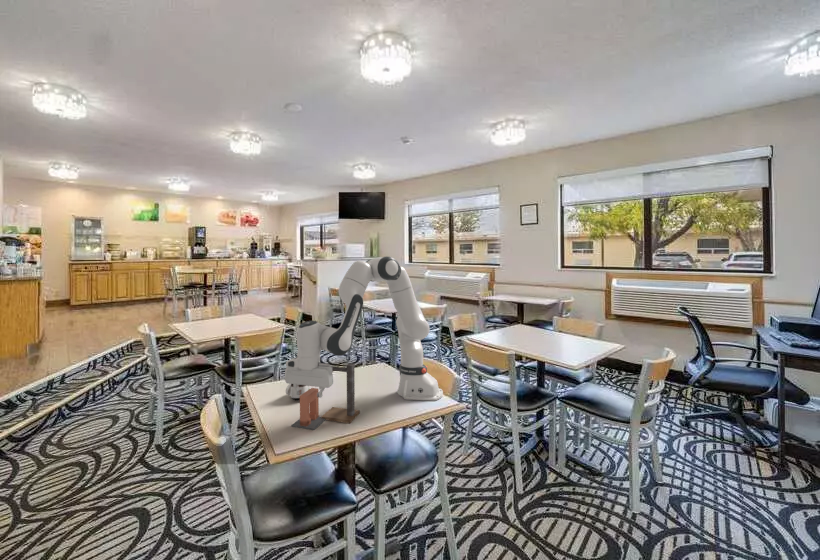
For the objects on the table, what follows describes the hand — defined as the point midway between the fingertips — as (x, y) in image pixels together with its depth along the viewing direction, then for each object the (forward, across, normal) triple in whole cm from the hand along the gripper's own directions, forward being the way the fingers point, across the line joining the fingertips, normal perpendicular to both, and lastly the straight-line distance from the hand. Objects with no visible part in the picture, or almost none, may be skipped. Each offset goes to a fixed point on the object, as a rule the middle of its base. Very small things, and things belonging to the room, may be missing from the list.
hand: (309, 395), depth 145 cm
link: (+10, 0, 0) cm, 10 cm away
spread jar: (+11, +20, -22) cm, 32 cm away
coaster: (+11, 0, 0) cm, 11 cm away
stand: (+11, -7, -9) cm, 16 cm away
